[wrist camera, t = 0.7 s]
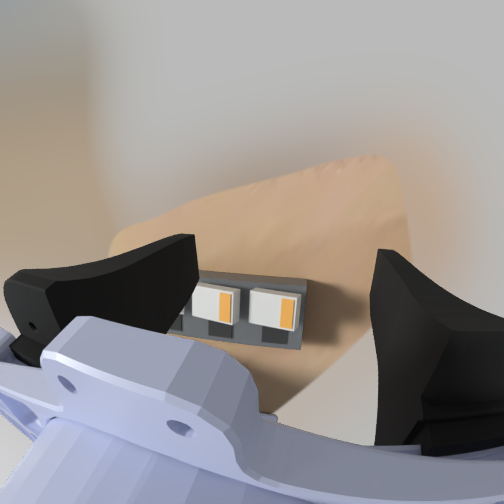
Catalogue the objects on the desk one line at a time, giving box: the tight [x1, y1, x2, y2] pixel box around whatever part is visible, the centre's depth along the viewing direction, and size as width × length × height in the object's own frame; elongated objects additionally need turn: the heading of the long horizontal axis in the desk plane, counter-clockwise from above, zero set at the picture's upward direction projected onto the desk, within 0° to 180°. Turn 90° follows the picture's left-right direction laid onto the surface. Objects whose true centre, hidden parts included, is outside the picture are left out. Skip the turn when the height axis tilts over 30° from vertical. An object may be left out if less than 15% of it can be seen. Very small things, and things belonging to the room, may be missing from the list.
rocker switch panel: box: [167, 270, 307, 350], centre depth 29 cm, size 6×15×4 cm, turn 87°
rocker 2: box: [249, 288, 301, 331], centre depth 25 cm, size 3×4×1 cm
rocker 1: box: [192, 282, 240, 325], centre depth 26 cm, size 3×4×1 cm
